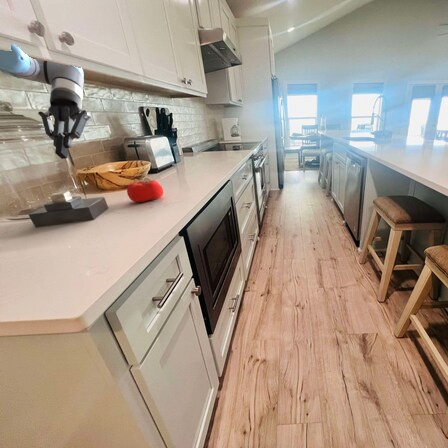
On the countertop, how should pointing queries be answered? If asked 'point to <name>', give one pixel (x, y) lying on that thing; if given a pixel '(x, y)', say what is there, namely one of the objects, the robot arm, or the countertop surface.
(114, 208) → the countertop surface
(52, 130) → the robot arm
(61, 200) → the grey brown cube
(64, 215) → the dark grey stepped block
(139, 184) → the tomato
